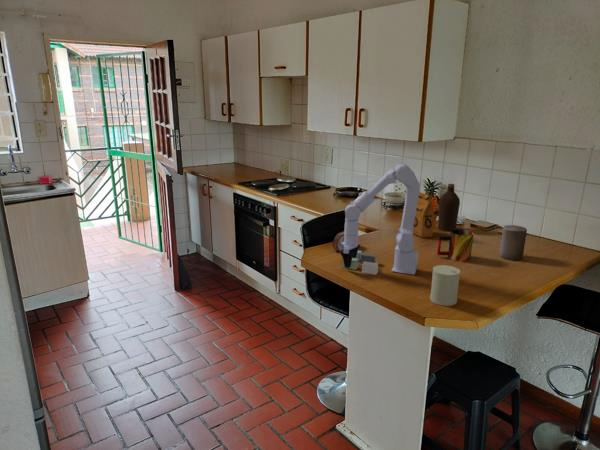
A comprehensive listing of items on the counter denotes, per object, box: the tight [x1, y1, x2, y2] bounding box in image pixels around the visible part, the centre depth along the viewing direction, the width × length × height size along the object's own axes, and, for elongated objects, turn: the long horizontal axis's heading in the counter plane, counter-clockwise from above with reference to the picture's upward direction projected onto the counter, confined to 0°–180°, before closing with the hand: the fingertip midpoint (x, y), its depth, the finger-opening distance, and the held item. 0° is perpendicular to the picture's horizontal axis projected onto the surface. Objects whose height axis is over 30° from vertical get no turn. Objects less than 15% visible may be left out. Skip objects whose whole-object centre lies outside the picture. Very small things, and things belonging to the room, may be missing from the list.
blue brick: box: [356, 250, 363, 262], centre depth 192 cm, size 6×3×4 cm, turn 68°
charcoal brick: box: [360, 252, 377, 264], centre depth 188 cm, size 6×3×4 cm, turn 68°
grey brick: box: [361, 261, 379, 276], centre depth 178 cm, size 6×3×4 cm, turn 68°
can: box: [429, 264, 461, 307], centre depth 153 cm, size 9×9×12 cm
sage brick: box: [341, 258, 359, 271], centre depth 183 cm, size 6×3×4 cm, turn 68°
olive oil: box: [437, 183, 461, 232], centre depth 235 cm, size 11×11×25 cm
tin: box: [332, 230, 344, 252], centre depth 205 cm, size 15×3×8 cm, turn 141°
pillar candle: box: [499, 224, 528, 261], centre depth 195 cm, size 10×10×15 cm
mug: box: [436, 228, 474, 263], centre depth 193 cm, size 10×14×12 cm
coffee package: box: [413, 191, 435, 239], centre depth 225 cm, size 10×12×22 cm
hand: (349, 264), depth 183 cm, fingers open, 7 cm apart
